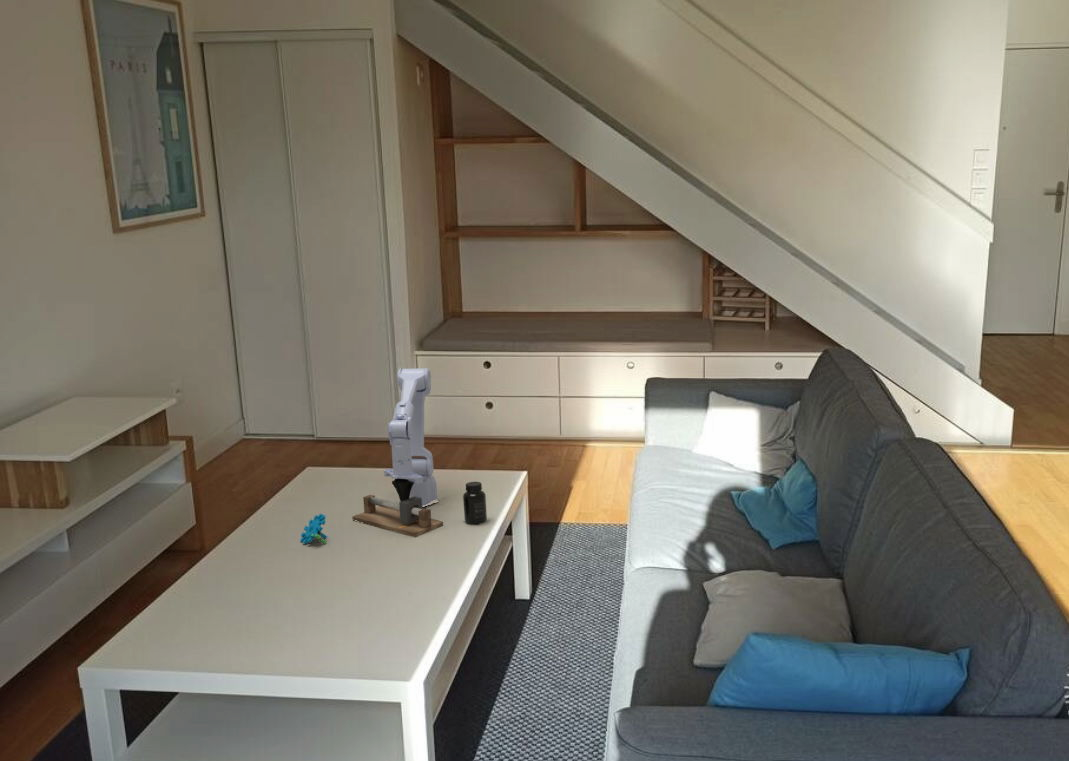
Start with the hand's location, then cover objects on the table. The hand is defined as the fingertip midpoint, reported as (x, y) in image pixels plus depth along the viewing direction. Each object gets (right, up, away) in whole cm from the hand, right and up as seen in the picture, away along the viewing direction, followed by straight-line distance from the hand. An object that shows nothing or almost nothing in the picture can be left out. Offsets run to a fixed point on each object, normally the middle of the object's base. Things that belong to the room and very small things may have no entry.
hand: (404, 502), depth 302 cm
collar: (+2, -5, 0) cm, 6 cm away
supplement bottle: (+21, -6, +3) cm, 22 cm away
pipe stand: (-3, -7, +4) cm, 8 cm away
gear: (-25, -11, -9) cm, 29 cm away
